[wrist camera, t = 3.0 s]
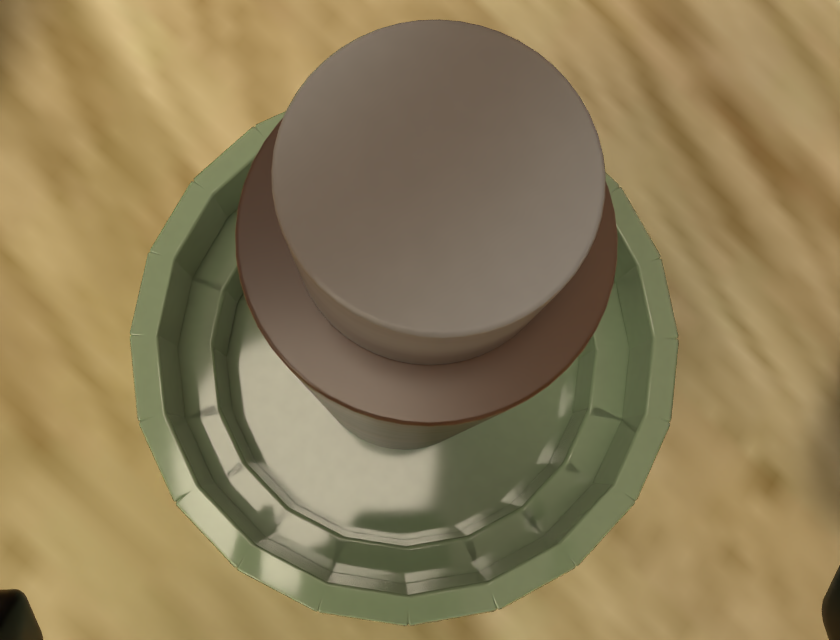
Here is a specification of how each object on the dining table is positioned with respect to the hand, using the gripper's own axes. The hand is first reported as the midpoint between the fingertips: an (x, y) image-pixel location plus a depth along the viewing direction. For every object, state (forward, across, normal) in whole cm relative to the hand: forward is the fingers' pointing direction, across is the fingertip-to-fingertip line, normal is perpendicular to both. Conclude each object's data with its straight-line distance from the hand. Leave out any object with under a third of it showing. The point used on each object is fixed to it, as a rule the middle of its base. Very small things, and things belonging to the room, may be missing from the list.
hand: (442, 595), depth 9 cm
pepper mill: (+11, 0, +5) cm, 12 cm away
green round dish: (+11, 0, +5) cm, 12 cm away
